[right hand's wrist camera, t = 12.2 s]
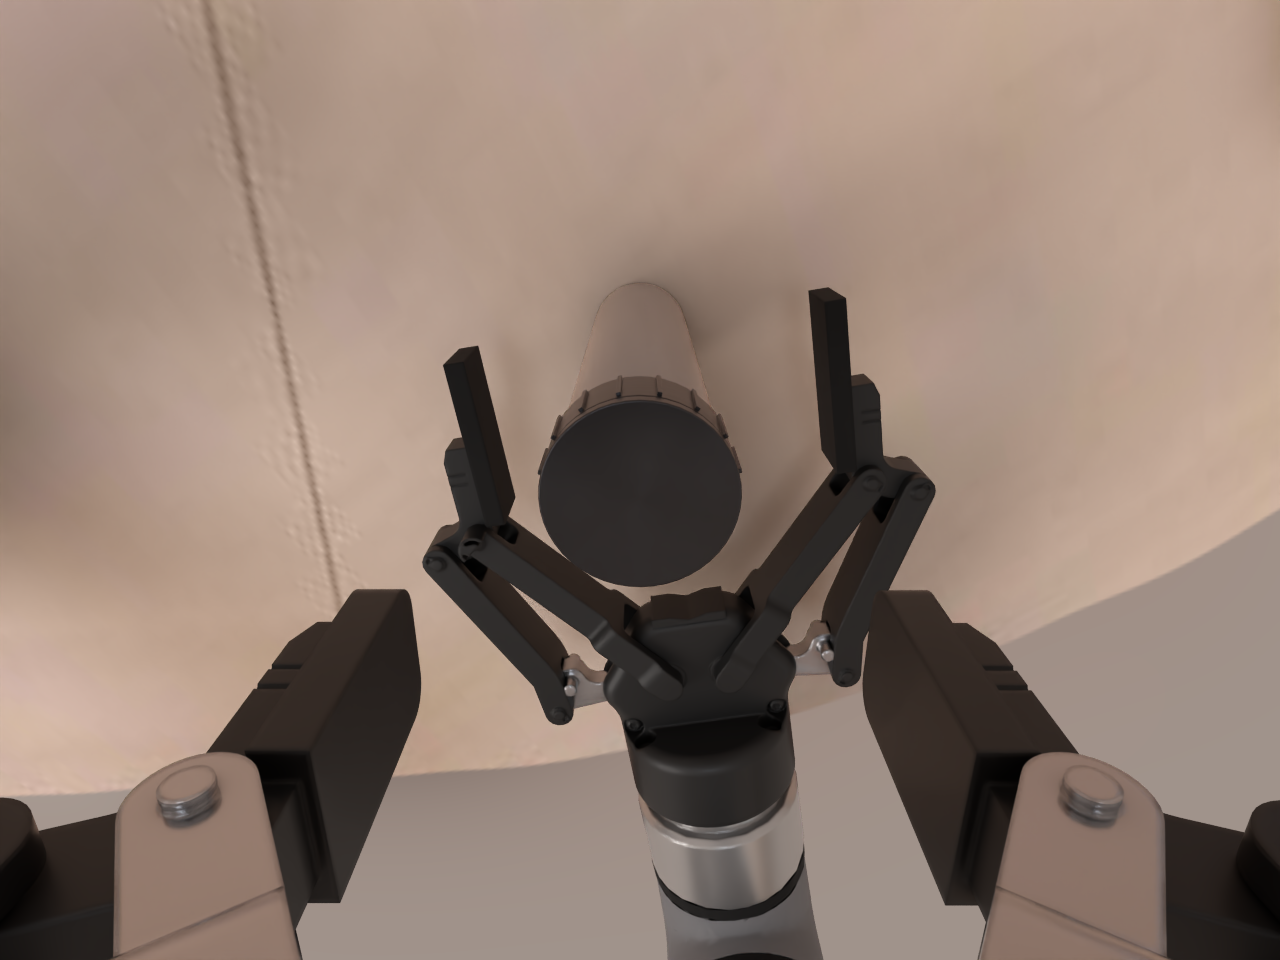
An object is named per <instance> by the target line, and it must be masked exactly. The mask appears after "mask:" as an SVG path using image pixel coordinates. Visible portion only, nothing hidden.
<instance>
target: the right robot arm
mask: <svg viewBox="0 0 1280 960" xmlns="http://www.w3.org/2000/svg"><path fill="white" fill-rule="evenodd" d="M420 695H421V673H420V665H419V657H418V649H417V641H416V634H415V626H414V618H413V610H412V603H411V599H410V595H409V593H408V592H407V591H406V590H405V589H357V590H354V591H353V592H352V593H351V595H350V596H349V598H348V599H347V601H346V602H345V604H344V605H343V606H342V608H341V609H340V611H339V612H338V614H337V615H336V617H335V618H334V620H333V621H332V622H317V623H315V624H314V625H312V626H311V627H310V628H308V629H307V630H305V631H304V632H302V633H301V634H299V635H298V636H297V637H295V638H294V639H292V640H291V641H289V642H288V644H287V645H286V646H285V648H284V649H283V650H282V652H281V653H280V654H279V656H278V657H277V658H276V660H275V661H274V663H273V664H272V669H268V671H267V672H266V673H265V675H264V676H263V677H262V679H261V680H260V681H259V683H258V687H257V689H253V691H252V692H251V693H250V695H249V696H248V698H247V699H246V700H245V702H244V703H243V704H242V706H241V707H240V708H239V710H238V711H237V712H236V714H235V715H234V716H233V718H232V719H231V720H230V722H229V723H228V724H227V726H226V727H225V728H224V730H223V731H222V733H221V734H220V735H219V737H218V738H217V739H216V741H215V742H214V743H213V745H212V746H211V747H210V749H209V750H208V751H207V753H205V754H200V755H195V756H192V757H188V758H185V759H182V760H180V761H177V762H174V763H172V764H170V765H168V766H166V767H164V768H162V769H160V770H158V771H157V772H155V773H153V774H152V775H150V776H149V777H147V778H146V779H145V780H143V781H142V782H141V783H140V784H138V785H137V786H136V787H135V788H134V789H133V790H132V791H131V792H130V793H129V794H128V795H127V797H126V798H125V799H124V801H123V802H122V804H121V805H120V807H119V810H118V812H117V813H114V814H110V815H106V816H102V817H98V818H93V819H89V820H85V821H80V822H76V823H71V824H67V825H63V826H58V827H54V828H50V829H45V830H41V831H38V828H37V825H36V823H35V820H34V818H33V815H32V813H31V810H30V809H29V807H28V806H27V805H26V804H24V803H23V802H21V801H18V800H15V799H11V798H0V960H303V959H302V955H301V950H300V946H299V941H298V937H297V933H296V927H297V925H298V923H299V921H300V918H301V916H302V914H303V912H304V910H305V907H306V905H307V903H340V902H341V899H342V897H343V895H344V892H345V890H346V887H347V885H348V882H349V880H350V878H351V875H352V873H353V870H354V868H355V865H356V863H357V860H358V858H359V856H360V853H361V851H362V848H363V846H364V843H365V841H366V838H367V836H368V833H369V831H370V829H371V826H372V823H373V821H374V819H375V816H376V814H377V811H378V809H379V807H380V804H381V802H382V799H383V797H384V794H385V792H386V789H387V787H388V785H389V782H390V780H391V777H392V775H393V772H394V770H395V767H396V765H397V763H398V760H399V758H400V755H401V753H402V750H403V748H404V745H405V743H406V741H407V738H408V736H409V733H410V731H411V728H412V726H413V723H414V721H415V718H416V716H417V712H418V708H419V703H420ZM863 698H864V705H865V710H866V714H867V717H868V720H869V723H870V725H871V727H872V730H873V732H874V735H875V737H876V739H877V742H878V744H879V747H880V749H881V751H882V754H883V756H884V759H885V761H886V764H887V766H888V768H889V771H890V773H891V776H892V778H893V780H894V783H895V785H896V788H897V790H898V792H899V795H900V797H901V800H902V802H903V805H904V807H905V809H906V812H907V814H908V817H909V819H910V821H911V824H912V826H913V829H914V831H915V833H916V836H917V838H918V841H919V843H920V845H921V848H922V850H923V853H924V855H925V857H926V860H927V862H928V865H929V867H930V870H931V872H932V874H933V877H934V879H935V882H936V884H937V886H938V889H939V891H940V894H941V896H942V898H943V901H944V903H945V905H978V906H979V908H980V910H981V912H982V914H983V917H984V919H985V921H986V924H985V929H984V933H983V937H982V941H981V946H980V950H979V955H978V959H977V960H1280V800H1278V801H1270V802H1267V803H1263V804H1261V805H1260V806H1258V807H1256V809H1255V810H1254V811H1253V812H1252V815H1251V817H1250V820H1249V822H1248V825H1247V828H1246V830H1245V833H1244V832H1240V831H1236V830H1231V829H1227V828H1222V827H1218V826H1214V825H1209V824H1205V823H1201V822H1196V821H1192V820H1188V819H1183V818H1179V817H1175V816H1171V815H1168V814H1165V813H1163V812H1162V810H1161V807H1160V805H1159V804H1158V802H1157V801H1156V799H1155V798H1154V797H1153V795H1152V794H1151V793H1150V792H1149V791H1148V790H1147V789H1146V788H1145V787H1144V786H1143V785H1141V784H1140V783H1139V782H1138V781H1137V780H1135V779H1134V778H1133V777H1131V776H1130V775H1128V774H1127V773H1125V772H1123V771H1122V770H1120V769H1118V768H1116V767H1114V766H1112V765H1110V764H1108V763H1106V762H1103V761H1100V760H1098V759H1095V758H1092V757H1088V756H1085V755H1080V754H1079V753H1078V752H1077V751H1076V749H1075V748H1074V747H1073V745H1072V744H1071V743H1070V741H1069V740H1068V739H1067V737H1066V736H1065V735H1064V733H1063V732H1062V731H1061V729H1060V728H1059V727H1058V725H1057V724H1056V723H1055V721H1054V720H1053V719H1052V717H1051V716H1050V715H1049V713H1048V712H1047V711H1046V709H1045V708H1044V707H1043V705H1042V704H1041V703H1040V701H1039V700H1038V699H1037V697H1036V696H1035V695H1034V693H1033V692H1032V691H1031V690H1028V686H1027V684H1026V683H1025V681H1024V680H1023V679H1022V677H1021V676H1020V675H1019V673H1018V672H1017V671H1014V670H1013V665H1012V664H1011V663H1010V661H1009V660H1008V659H1007V657H1006V656H1005V655H1004V653H1003V652H1002V651H1001V649H1000V648H999V647H998V645H997V644H996V643H995V642H994V641H992V640H991V639H989V638H988V637H986V636H985V635H983V634H982V633H980V632H979V631H978V630H976V629H975V628H973V627H972V626H970V625H969V624H967V623H952V621H951V620H950V619H949V617H948V616H947V614H946V613H945V611H944V610H943V608H942V607H941V605H940V604H939V603H938V601H937V600H936V598H935V597H934V595H933V594H932V593H931V592H930V591H927V590H880V591H878V592H877V593H876V594H875V597H874V600H873V604H872V611H871V619H870V626H869V634H868V642H867V649H866V657H865V665H864V672H863Z"/></svg>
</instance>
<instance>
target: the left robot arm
mask: <svg viewBox="0 0 1280 960" xmlns="http://www.w3.org/2000/svg"><path fill="white" fill-rule="evenodd" d="M809 303H810V315H811V327H812V339H813V351H814V363H815V376H816V388H817V400H818V412H819V424H820V436H821V449H822V451H823V453H824V454H825V456H826V458H827V459H828V461H829V462H830V464H831V465H832V467H833V470H832V471H831V473H830V474H829V475H828V477H827V478H826V479H825V481H824V482H823V483H822V485H821V486H820V487H819V489H818V490H817V491H816V493H815V494H814V495H813V497H812V498H811V499H810V501H809V502H808V504H807V505H806V506H805V508H804V509H803V510H802V512H801V513H800V514H799V516H798V517H797V518H796V520H795V521H794V522H793V524H792V525H791V526H790V528H789V529H788V531H787V532H786V533H785V535H784V536H783V537H782V539H781V540H780V541H779V543H778V544H777V545H776V547H775V548H774V549H773V551H772V552H771V553H770V555H769V556H768V558H767V559H766V560H765V562H764V563H763V564H762V566H761V567H760V568H758V569H754V570H753V571H752V572H751V573H750V574H749V576H748V577H747V578H746V580H745V581H744V582H743V584H742V585H741V586H740V588H739V589H738V590H737V592H736V593H735V594H733V593H730V592H726V591H722V590H721V586H718V587H711V588H704V589H701V590H699V591H696V592H694V593H691V594H689V595H676V594H663V595H656V596H651V602H648V603H646V604H644V605H643V606H642V607H640V606H638V605H637V604H636V603H634V602H633V601H631V600H630V599H629V598H627V597H626V596H625V595H623V594H622V593H621V592H619V591H617V590H615V589H613V590H609V589H607V588H606V587H604V586H603V585H602V584H600V583H599V582H597V581H596V580H595V579H593V578H592V577H591V576H589V575H588V574H587V573H585V572H584V571H582V570H581V569H580V568H578V567H577V566H576V565H574V564H573V563H571V562H570V561H569V560H567V559H566V558H565V557H563V556H562V555H561V554H559V553H558V552H556V551H555V550H554V549H552V548H551V547H550V546H548V545H547V544H546V543H544V542H543V541H541V540H540V539H539V538H537V537H536V536H535V535H533V534H532V533H530V532H529V531H528V530H526V529H525V528H524V527H522V526H521V525H520V524H518V523H517V522H515V521H514V520H513V519H511V518H510V517H509V513H510V510H511V508H512V505H513V502H514V500H515V493H514V489H513V485H512V481H511V477H510V473H509V469H508V465H507V461H506V457H505V453H504V449H503V445H502V441H501V437H500V432H499V428H498V424H497V420H496V416H495V412H494V408H493V404H492V400H491V396H490V392H489V388H488V384H487V380H486V376H485V372H484V367H483V363H482V359H481V355H480V351H479V347H478V346H473V347H467V348H461V349H459V350H458V351H457V352H456V353H455V354H454V355H453V356H452V357H451V358H450V359H449V360H448V361H447V362H446V363H445V364H444V365H443V367H444V371H445V374H446V378H447V382H448V386H449V390H450V393H451V397H452V401H453V405H454V408H455V412H456V416H457V420H458V423H459V427H460V431H461V435H462V438H456V439H453V441H452V442H451V444H450V445H449V447H448V448H447V449H446V452H445V459H444V466H445V469H446V473H447V476H448V480H449V484H450V486H451V491H452V494H453V498H454V502H455V505H456V509H457V512H458V516H459V522H457V523H455V524H453V525H446V526H443V527H441V529H440V530H439V531H438V532H437V534H436V536H435V538H434V540H433V541H432V543H431V545H430V547H429V549H428V550H427V552H426V554H425V556H424V558H423V562H422V563H423V568H424V569H425V571H426V572H427V573H428V574H429V575H430V577H431V578H432V579H433V580H434V581H435V582H436V583H437V584H438V585H439V586H440V587H441V588H442V589H443V590H444V591H445V592H446V594H447V595H448V596H449V597H450V598H451V599H452V600H453V601H454V602H455V603H456V604H457V605H458V606H459V607H460V608H461V610H462V611H463V612H464V613H465V614H466V615H467V616H468V617H469V618H470V619H471V620H472V621H473V622H474V623H475V624H476V626H477V627H478V628H479V629H480V630H481V631H482V632H483V633H484V634H485V635H486V636H487V637H488V638H489V639H490V640H491V641H492V643H493V644H494V645H495V646H496V647H497V648H498V649H499V650H500V651H501V652H502V653H503V654H504V655H505V656H506V657H507V659H508V660H509V661H510V662H511V663H512V664H513V665H514V666H515V667H516V668H517V669H518V670H519V671H520V672H521V673H522V675H523V676H524V677H525V678H526V679H527V680H528V681H529V682H530V683H531V684H532V685H533V686H534V688H535V691H536V693H537V696H538V698H539V700H540V703H541V705H542V708H543V710H544V713H545V715H546V717H547V719H548V720H549V721H550V722H551V723H553V724H556V725H564V724H567V723H569V722H570V721H571V720H572V717H573V713H574V708H578V707H583V706H587V705H591V704H595V703H600V702H604V701H608V702H609V704H610V705H611V706H613V707H614V708H615V710H616V711H617V712H618V714H619V715H620V717H621V720H622V724H623V729H624V733H625V738H626V743H627V747H628V752H629V756H630V761H631V766H632V770H633V775H634V780H635V784H636V787H637V790H638V792H639V804H640V808H641V812H642V817H643V821H644V826H645V830H646V834H647V839H648V843H649V847H650V852H651V856H652V862H653V866H654V869H655V873H656V876H657V880H658V886H659V892H660V897H661V903H662V909H663V915H664V921H665V928H666V937H667V952H668V960H823V956H822V952H821V948H820V943H819V939H818V935H817V930H816V926H815V921H814V915H813V910H812V904H811V896H810V890H809V883H808V877H807V870H806V864H805V857H804V832H803V824H802V816H801V808H800V800H799V792H798V784H797V776H796V771H795V769H794V768H795V757H794V748H793V739H792V731H791V722H790V713H789V704H788V690H789V687H790V685H791V683H792V681H793V679H794V677H795V676H797V675H820V674H831V676H832V678H833V681H834V682H835V683H836V684H837V685H839V686H841V687H849V686H852V685H854V684H856V683H857V682H858V681H859V679H860V676H861V666H862V652H863V641H864V639H865V637H866V635H867V633H868V631H869V626H870V619H871V611H872V604H873V600H874V597H875V594H876V593H877V592H878V591H880V590H889V588H890V586H891V584H892V582H893V580H894V578H895V576H896V574H897V571H898V569H899V567H900V565H901V563H902V561H903V559H904V557H905V555H906V553H907V551H908V549H909V547H910V545H911V543H912V541H913V539H914V537H915V535H916V533H917V531H918V529H919V527H920V525H921V523H922V520H923V518H924V516H925V514H926V512H927V510H928V508H929V506H930V504H931V502H932V500H933V498H934V495H935V492H936V490H935V485H934V484H933V482H932V481H931V480H930V479H929V478H928V477H927V476H926V475H925V474H924V472H923V471H922V470H921V469H920V468H919V467H918V466H917V465H916V464H915V463H914V462H913V461H912V460H911V459H910V458H908V457H905V456H899V457H896V458H892V457H886V456H883V447H882V427H881V411H880V409H881V408H880V394H879V392H878V391H877V389H876V387H875V385H874V383H873V382H872V381H871V380H870V379H869V378H868V377H867V376H865V375H864V374H859V375H853V376H851V367H850V352H849V336H848V321H847V305H846V298H845V297H843V296H841V295H840V294H838V293H837V292H835V291H833V290H832V289H830V288H829V287H827V288H821V289H815V290H809ZM860 522H861V523H860ZM859 523H860V525H859ZM858 525H859V528H858V530H857V532H856V534H855V536H854V539H853V541H852V543H851V545H850V547H849V549H848V552H847V554H846V556H845V558H844V560H843V563H842V565H841V567H840V569H839V571H838V573H837V576H836V578H835V580H834V582H833V584H832V587H831V589H830V591H829V593H828V595H827V598H826V601H825V603H824V607H823V611H822V619H821V621H820V620H814V621H813V622H812V623H811V624H810V628H809V629H808V631H807V634H806V637H805V638H804V639H803V640H802V641H801V642H800V643H798V644H794V645H790V643H789V642H788V640H787V639H786V638H785V637H784V636H783V635H782V634H781V633H782V632H783V631H784V629H785V628H786V627H787V625H788V623H789V621H790V618H791V613H792V610H793V609H794V607H795V606H796V605H797V603H798V602H799V601H800V599H801V598H802V597H803V595H804V594H805V593H806V592H807V590H808V589H809V588H810V586H811V585H812V584H813V583H814V581H815V580H816V579H817V577H818V576H819V575H820V574H821V572H822V571H823V570H824V568H825V567H826V566H827V565H828V563H829V562H830V561H831V559H832V558H833V557H834V556H835V554H836V553H837V552H838V550H839V549H840V548H841V547H842V545H843V544H844V543H845V541H846V540H847V539H848V538H849V536H850V535H851V534H852V532H853V531H854V530H855V529H856V527H857V526H858ZM510 583H511V584H512V585H513V586H515V587H516V588H518V589H519V590H521V591H522V592H523V593H525V594H526V595H528V596H529V597H530V598H532V599H533V600H535V601H536V602H538V603H539V604H540V605H542V606H543V607H545V608H546V609H547V610H549V611H550V612H552V613H553V614H555V615H556V616H557V617H559V618H560V619H562V620H563V621H564V622H566V623H567V624H569V625H570V626H572V627H573V628H574V629H576V630H577V631H579V632H580V633H581V634H583V635H584V636H586V637H587V638H588V639H589V640H590V642H591V644H592V646H593V648H594V649H595V650H596V651H597V652H598V653H599V654H601V655H602V656H604V657H605V658H606V659H608V661H607V662H606V665H605V667H604V670H603V671H594V670H591V669H590V668H588V667H587V666H586V665H585V663H584V662H583V661H582V660H581V658H580V656H579V655H577V654H571V655H569V656H568V653H567V651H566V649H565V647H564V646H563V644H562V642H561V641H560V639H559V638H558V637H557V636H556V634H555V633H554V632H553V631H552V630H551V629H550V628H549V627H548V625H547V624H546V623H545V622H544V621H543V620H542V619H541V618H540V616H539V615H538V614H537V613H536V612H535V611H534V610H533V609H532V608H531V606H530V605H529V604H528V603H527V602H526V601H525V600H524V599H523V598H522V596H521V595H520V594H519V593H518V592H517V591H516V590H515V589H514V588H513V586H512V585H511V584H510Z"/></svg>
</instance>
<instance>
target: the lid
mask: <svg viewBox="0 0 1280 960" xmlns="http://www.w3.org/2000/svg"><path fill="white" fill-rule="evenodd" d="M739 473H742V469H741V466H740V463H739V460H738V457H737V454H736V451H735V448H734V447H731V445H730V442H729V439H728V434H727V431H726V428H725V425H724V422H723V419H722V416H721V415H720V414H718V415H716V413H715V412H714V411H713V409H712V408H711V407H710V406H709V405H708V404H707V403H706V402H705V401H704V400H703V399H702V398H700V397H699V396H698V395H697V392H696V390H695V389H693V388H692V390H689V389H688V388H686V387H684V386H681V385H679V384H677V383H675V382H672V381H669V380H665V379H661V376H660V375H656V377H647V376H633V377H624V378H622V375H620V376H618V377H617V379H614V380H611V381H608V382H606V383H603V384H601V385H599V386H597V387H595V388H593V389H591V390H589V391H587V390H586V389H585V390H584V391H583V392H582V396H581V397H580V398H578V399H577V400H576V401H575V402H574V403H573V404H572V405H571V406H570V407H569V408H568V410H567V411H566V412H565V413H564V415H563V416H560V415H559V416H558V418H557V420H556V423H555V426H554V429H553V432H552V435H551V442H550V445H549V448H546V449H545V452H544V455H543V458H542V461H541V464H540V467H539V470H538V474H539V475H540V480H539V486H538V499H539V507H540V512H541V516H542V519H543V523H544V525H545V527H546V530H547V532H548V534H549V536H550V537H551V539H552V541H553V542H554V544H555V545H556V546H557V548H558V549H559V550H560V551H561V553H562V554H563V555H564V556H565V557H566V558H567V559H568V560H569V561H570V562H572V563H573V564H574V565H576V566H577V567H578V568H580V569H581V570H583V571H584V572H586V573H588V574H590V575H591V576H593V577H596V578H598V579H601V580H603V581H606V582H610V583H613V584H617V585H623V586H631V587H648V586H657V585H663V584H667V583H670V582H674V581H677V580H680V579H682V578H684V577H686V576H689V575H691V574H692V573H694V572H696V571H697V570H699V569H701V568H702V567H703V566H704V565H706V564H707V563H708V562H710V561H711V560H712V559H713V558H714V557H715V556H716V555H717V554H718V553H719V552H720V550H721V549H722V548H723V546H724V545H725V544H726V543H727V541H728V539H729V537H730V536H731V534H732V532H733V530H734V528H735V525H736V523H737V520H738V516H739V512H740V508H741V499H742V489H741V479H740V474H739Z"/></svg>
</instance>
